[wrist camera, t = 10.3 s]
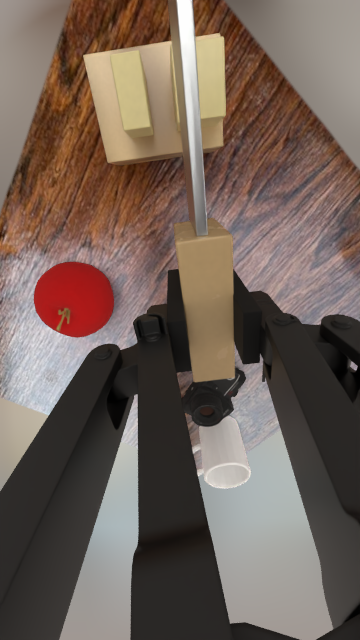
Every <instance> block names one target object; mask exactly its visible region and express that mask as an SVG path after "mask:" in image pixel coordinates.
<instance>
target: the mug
mask: <svg viewBox="0 0 360 640" xmlns="http://www.w3.org/2000/svg"><path fill="white" fill-rule="evenodd" d="M199 436H200V444H197V445H195V446H193V447H192V450H193V453H194V452H196V451H197V450H199V449H201V454H202V463H203V467H202V468H200V469H198V470H197V474H198V476H199V475H201V474H204V479H205V481H206V482H207V483H208V484H209V485H211V486H213V487H216V488H223V489H224V488H225V489H227V488H234V487H237V486H240V485H242V484H243V483H245V482H246V481H247V480H248V479H249V477H250V475H251V471H250V467H249V463H248V460H247V456H246V452H245V449H244V445H243V441H242V438H241V434H240V430H239V426H238V423H237V421H236V420H235V419H234V418H232V417H231V416H227V417H225V418H223V419H222V421H221V422H220V423H219V424H217V425H215V426H211V427H203V426H199Z"/></svg>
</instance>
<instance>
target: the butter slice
mask: <svg viewBox="0 0 360 640" xmlns="http://www.w3.org/2000/svg"><path fill="white" fill-rule="evenodd" d="M110 62H111V67H112V72H113V78H114V83H115V88H116V93H117V99H118V104H119V109H120V114H121V119H122V125H123V130H124V131H125V132H126V133H127V134H128V135H129V136H130V137H131V138H138V137H144V136H151V135H153V134H154V133H153V126H152V119H151V112H150V105H149V98H148V91H147V84H146V77H145V71H144V67H143V63H142V59H141V55H140V52H139V50H137V51H130V52H124V53H118V54H112V55H110Z"/></svg>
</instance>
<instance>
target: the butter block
mask: <svg viewBox="0 0 360 640" xmlns="http://www.w3.org/2000/svg"><path fill="white" fill-rule="evenodd" d="M196 56H197V71H198V86H199V102H200V117H201V128H205V127H211V126H217V125H218V123H219V122H220V121H221V120H222V119H223V118H224V117H225V115H226V101H225V56H224V37H217V38H211V39H205V40H198V41H196ZM170 72H171V82H172V91H173V101H174V110H175V120H176V130H177V131H181V130H180V120H179V110H178V100H177V90H176V80H175V70H174V60H173V50H172V45H170Z"/></svg>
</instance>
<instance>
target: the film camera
mask: <svg viewBox="0 0 360 640" xmlns="http://www.w3.org/2000/svg"><path fill="white" fill-rule="evenodd" d="M245 380H246V377H245V374H244V372H243V371H241V370H239V369H238V368H235V377H234V378H227V379H219V380H211V381H202V382H194V381H193V383H192V384H191V385H190V387H189V388H188V390H187V391H186V393H185V395H184V397H183V398H182V402H183V407H184V412H185V413H187V414H189V415H191V416H192V420H193V421H194V422H195V423H196V424H197V425H199V426H203V427H211V426H215V425H217V424H219V423H220V422H221V421H222V419H223V418H225V417H227V416H228V415H230V413H231V412H232V411H233V410H234V408H233V404H232V401H231V397H235V396H236V395H237V393H238V390H239V389H240V388H241V386H242V385H243V383H244V382H245Z"/></svg>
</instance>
